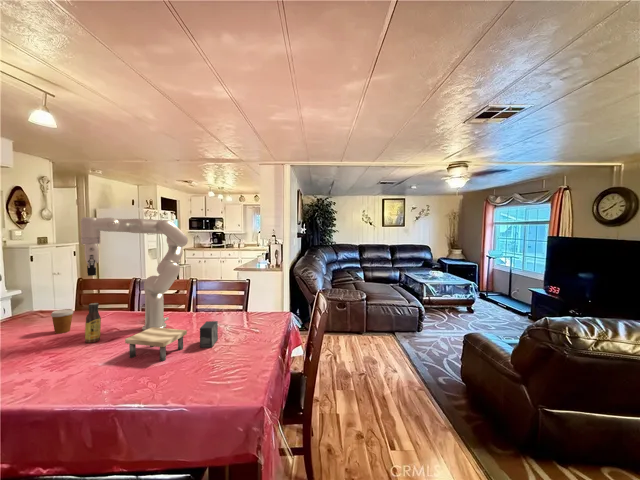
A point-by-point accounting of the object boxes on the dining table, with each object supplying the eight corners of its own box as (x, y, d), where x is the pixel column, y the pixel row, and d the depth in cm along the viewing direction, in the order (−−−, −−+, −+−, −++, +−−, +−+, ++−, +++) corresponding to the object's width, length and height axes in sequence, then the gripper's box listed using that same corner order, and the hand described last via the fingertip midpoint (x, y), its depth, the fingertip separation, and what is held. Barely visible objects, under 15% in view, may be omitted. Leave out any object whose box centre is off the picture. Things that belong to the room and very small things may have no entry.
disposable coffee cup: (47, 333, 153) (47, 312, 153) (68, 327, 162) (68, 307, 161) (56, 336, 149) (56, 314, 149) (77, 330, 158) (77, 309, 158)
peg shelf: (152, 344, 141) (152, 327, 141) (186, 347, 138) (186, 330, 137) (125, 358, 125) (125, 339, 125) (163, 362, 122) (163, 342, 122)
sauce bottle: (91, 344, 140) (91, 305, 139) (81, 342, 141) (81, 305, 141) (103, 339, 146) (103, 302, 146) (94, 338, 148) (94, 301, 147)
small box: (205, 339, 148) (206, 320, 148) (218, 339, 149) (218, 320, 149) (199, 348, 138) (199, 327, 137) (212, 347, 138) (212, 327, 138)
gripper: (101, 241, 136) (101, 275, 136) (99, 240, 149) (99, 271, 149) (81, 242, 131) (82, 277, 131) (81, 240, 144) (81, 272, 144)
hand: (91, 274), depth 140 cm, fingers open, 9 cm apart
